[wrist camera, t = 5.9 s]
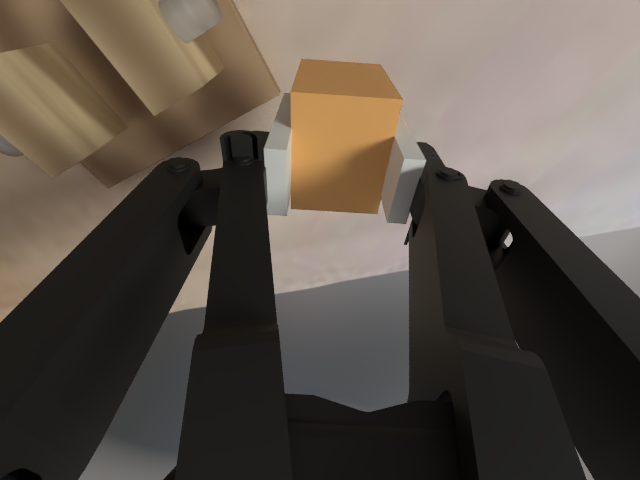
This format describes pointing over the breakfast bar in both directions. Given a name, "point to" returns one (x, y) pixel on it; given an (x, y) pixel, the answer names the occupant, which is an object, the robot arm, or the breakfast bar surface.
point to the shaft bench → (122, 80)
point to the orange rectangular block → (341, 135)
